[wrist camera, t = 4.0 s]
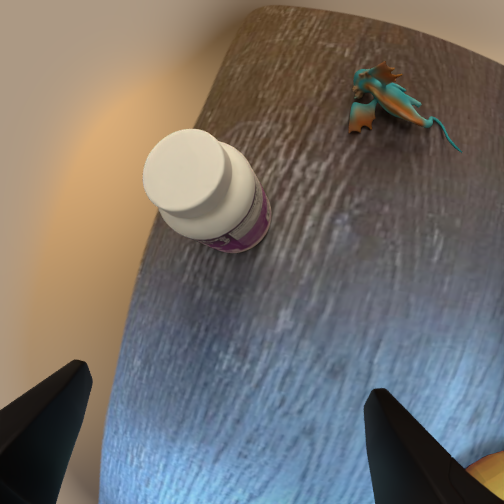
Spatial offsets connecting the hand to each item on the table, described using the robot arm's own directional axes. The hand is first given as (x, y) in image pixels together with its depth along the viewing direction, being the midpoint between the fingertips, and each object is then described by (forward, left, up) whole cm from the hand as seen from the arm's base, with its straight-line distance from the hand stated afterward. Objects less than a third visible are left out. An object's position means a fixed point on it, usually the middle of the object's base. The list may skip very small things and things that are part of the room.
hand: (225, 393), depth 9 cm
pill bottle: (+8, +5, -13) cm, 16 cm away
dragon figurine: (+18, -6, -13) cm, 23 cm away
